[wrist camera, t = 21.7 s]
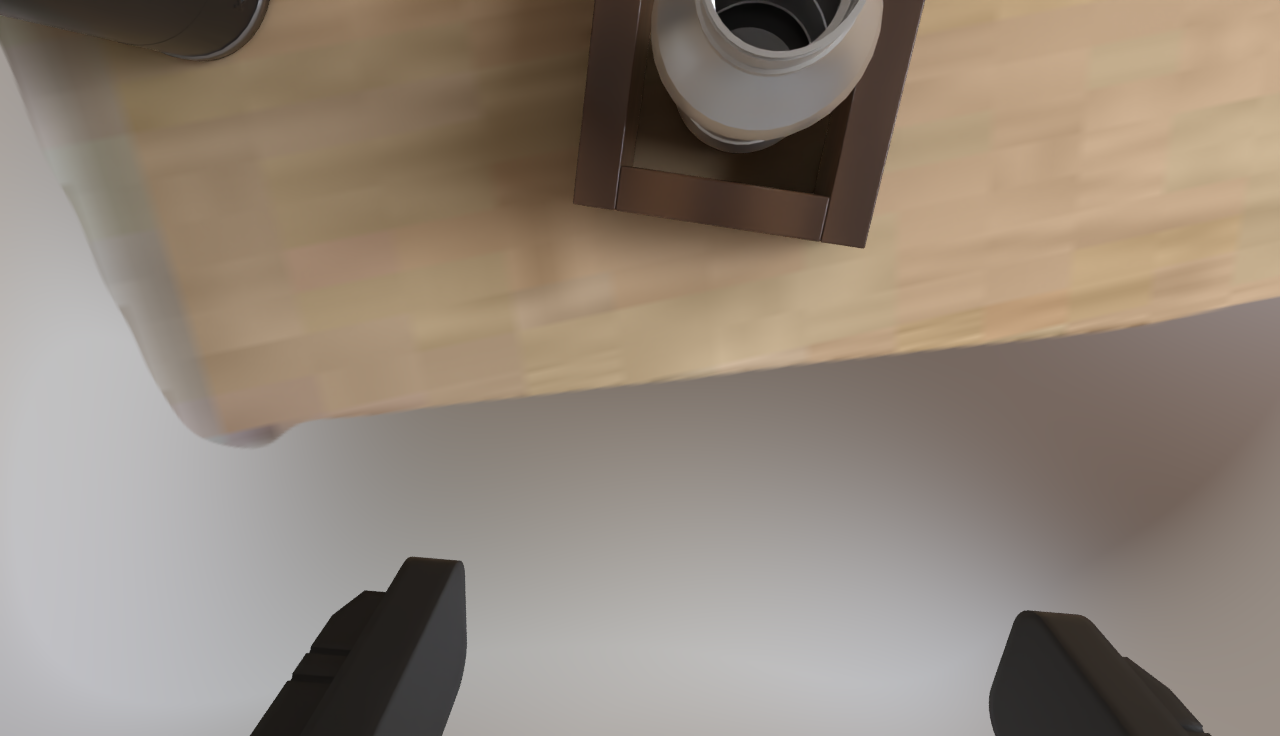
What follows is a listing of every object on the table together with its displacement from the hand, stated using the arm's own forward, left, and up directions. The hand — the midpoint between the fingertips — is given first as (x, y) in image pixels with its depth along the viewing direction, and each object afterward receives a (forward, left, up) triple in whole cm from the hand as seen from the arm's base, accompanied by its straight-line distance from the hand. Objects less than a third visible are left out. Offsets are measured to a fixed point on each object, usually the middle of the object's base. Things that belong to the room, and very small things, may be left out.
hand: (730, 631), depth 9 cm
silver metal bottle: (0, +11, -28) cm, 30 cm away
